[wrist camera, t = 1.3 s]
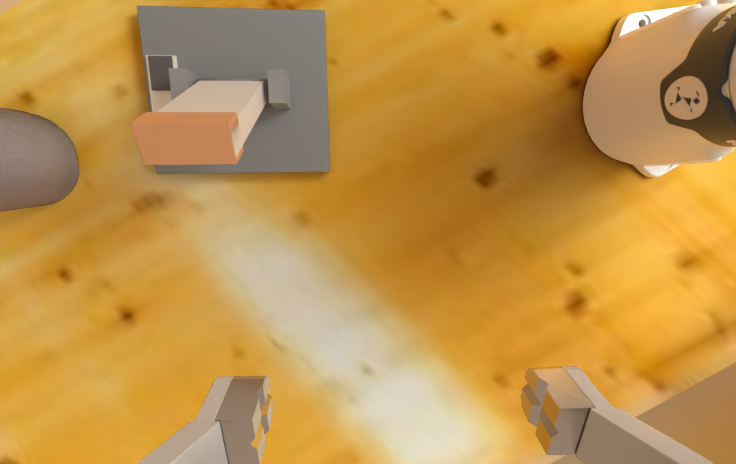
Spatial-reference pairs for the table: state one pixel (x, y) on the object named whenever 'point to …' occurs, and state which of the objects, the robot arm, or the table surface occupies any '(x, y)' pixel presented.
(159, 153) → the block
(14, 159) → the pillar candle
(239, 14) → the switch board
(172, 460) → the robot arm
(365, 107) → the table surface
